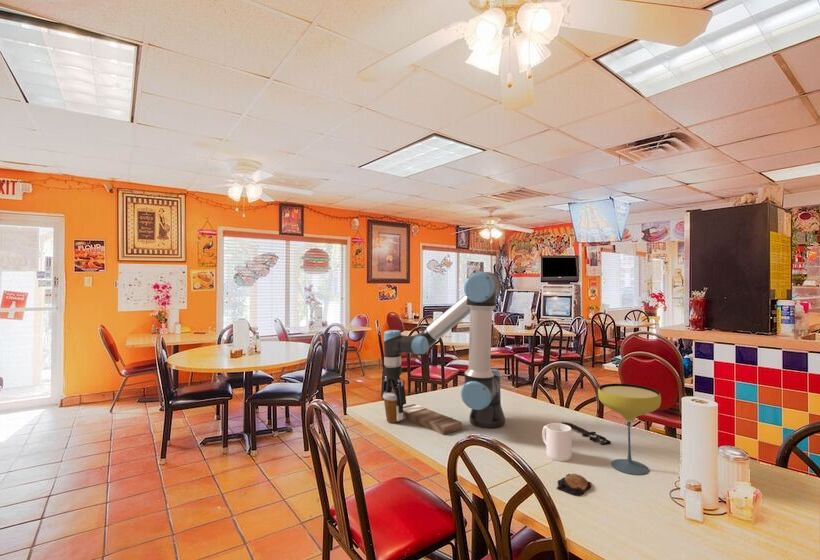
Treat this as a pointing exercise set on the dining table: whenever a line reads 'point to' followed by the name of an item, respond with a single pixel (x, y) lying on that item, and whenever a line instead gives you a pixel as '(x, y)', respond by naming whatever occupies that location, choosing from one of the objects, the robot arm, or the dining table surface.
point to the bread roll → (574, 485)
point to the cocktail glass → (629, 414)
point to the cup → (558, 441)
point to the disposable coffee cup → (390, 406)
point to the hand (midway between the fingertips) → (393, 417)
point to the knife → (586, 434)
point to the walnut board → (431, 419)
